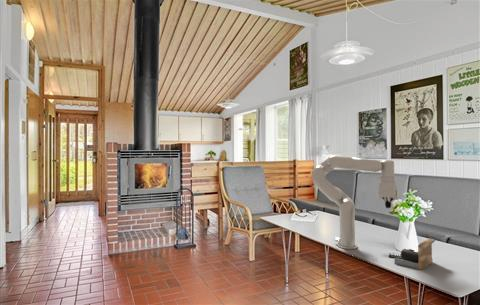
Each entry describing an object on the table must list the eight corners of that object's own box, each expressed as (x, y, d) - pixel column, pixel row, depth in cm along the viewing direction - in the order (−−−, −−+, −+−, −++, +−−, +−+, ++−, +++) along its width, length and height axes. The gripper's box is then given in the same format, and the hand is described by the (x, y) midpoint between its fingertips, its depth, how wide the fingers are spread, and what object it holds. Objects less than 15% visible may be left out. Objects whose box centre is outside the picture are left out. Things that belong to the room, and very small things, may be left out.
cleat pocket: (394, 263, 170) (394, 258, 170) (406, 256, 183) (406, 251, 183) (418, 269, 161) (418, 263, 161) (428, 260, 174) (428, 255, 174)
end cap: (400, 261, 175) (400, 249, 175) (408, 259, 178) (408, 247, 178) (417, 266, 166) (417, 254, 166) (425, 264, 169) (425, 252, 169)
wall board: (418, 269, 161) (418, 245, 162) (428, 261, 174) (428, 238, 174) (425, 271, 159) (424, 246, 159) (435, 262, 171) (434, 239, 171)
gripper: (373, 179, 198) (374, 207, 198) (397, 180, 187) (398, 210, 187) (378, 178, 203) (378, 205, 203) (402, 179, 192) (402, 208, 192)
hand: (388, 207), depth 195 cm, fingers closed
